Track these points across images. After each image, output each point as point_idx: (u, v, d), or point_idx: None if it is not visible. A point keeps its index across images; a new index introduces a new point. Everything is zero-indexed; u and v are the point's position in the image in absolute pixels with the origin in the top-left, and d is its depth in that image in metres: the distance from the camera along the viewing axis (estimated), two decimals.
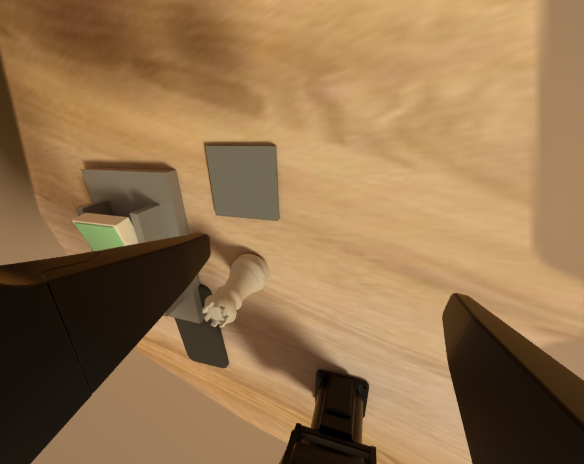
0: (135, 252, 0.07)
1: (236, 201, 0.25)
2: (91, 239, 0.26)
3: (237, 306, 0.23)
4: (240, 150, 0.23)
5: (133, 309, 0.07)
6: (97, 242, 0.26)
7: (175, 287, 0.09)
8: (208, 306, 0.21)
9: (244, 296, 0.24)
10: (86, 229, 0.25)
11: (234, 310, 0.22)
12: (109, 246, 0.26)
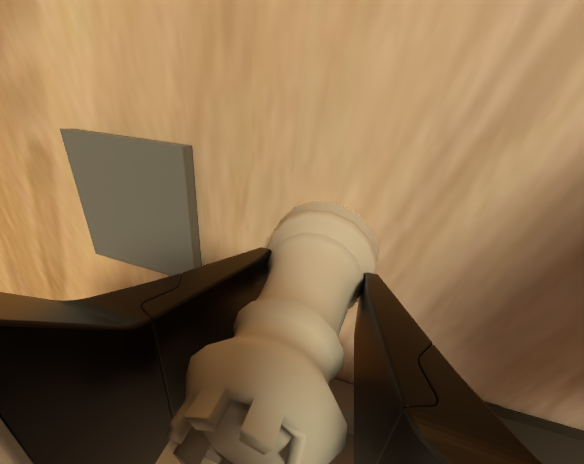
0: (216, 274, 0.07)
1: (162, 231, 0.13)
2: None
3: (297, 329, 0.05)
4: (84, 195, 0.13)
5: (213, 337, 0.07)
6: None
7: None
8: (182, 457, 0.04)
9: (307, 287, 0.06)
10: None
11: (244, 352, 0.04)
12: None
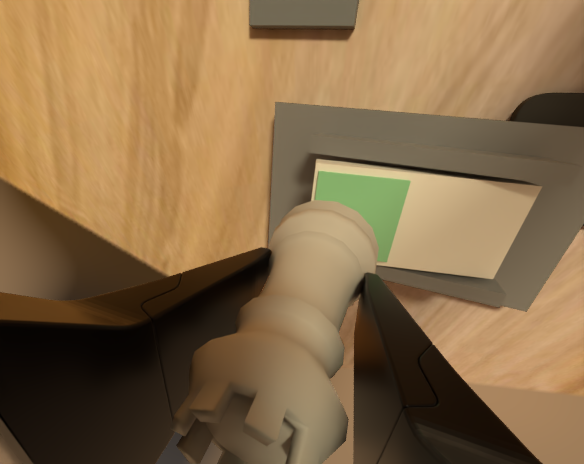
0: (216, 274, 0.07)
1: None
2: None
3: (298, 325, 0.05)
4: None
5: (213, 337, 0.07)
6: None
7: None
8: (186, 450, 0.04)
9: (308, 284, 0.06)
10: None
11: (248, 346, 0.04)
12: (358, 211, 0.14)
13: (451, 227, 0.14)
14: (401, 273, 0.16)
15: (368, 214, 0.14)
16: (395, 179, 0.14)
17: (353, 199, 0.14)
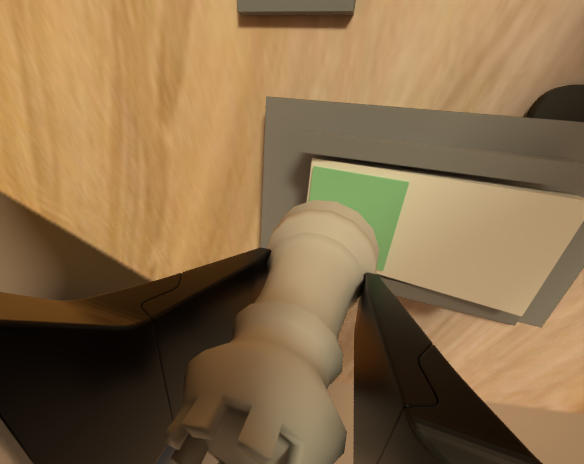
0: (216, 274, 0.07)
1: None
2: None
3: (296, 333, 0.05)
4: None
5: (213, 336, 0.07)
6: None
7: None
8: (180, 462, 0.04)
9: (306, 289, 0.06)
10: None
11: (242, 358, 0.04)
12: None
13: (462, 241, 0.12)
14: (405, 286, 0.15)
15: (362, 215, 0.14)
16: (392, 179, 0.12)
17: (347, 197, 0.14)
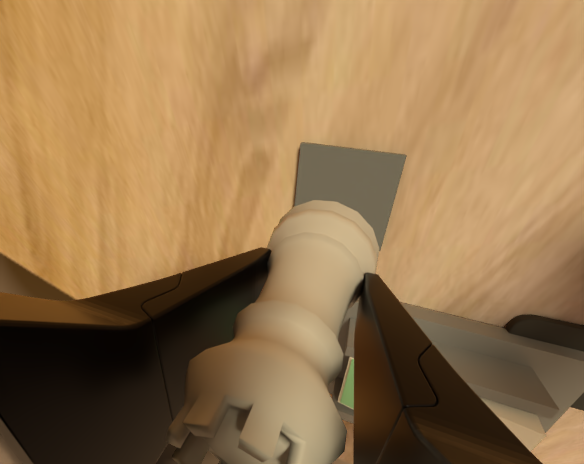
0: (216, 274, 0.07)
1: (364, 214, 0.18)
2: None
3: (296, 332, 0.05)
4: (301, 189, 0.18)
5: (213, 337, 0.07)
6: None
7: None
8: (181, 461, 0.04)
9: (306, 289, 0.06)
10: (350, 396, 0.20)
11: (243, 357, 0.04)
12: None
13: None
14: None
15: None
16: None
17: None
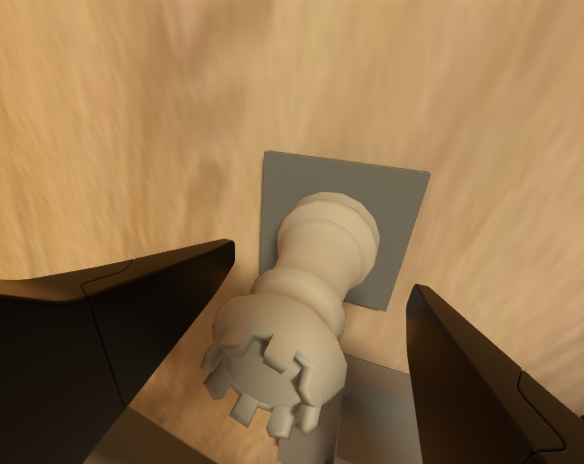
0: (167, 261, 0.07)
1: None
2: None
3: (307, 291, 0.06)
4: (269, 219, 0.12)
5: (165, 320, 0.07)
6: None
7: (203, 295, 0.08)
8: (211, 386, 0.05)
9: (315, 261, 0.07)
10: None
11: (265, 300, 0.05)
12: None
13: None
14: None
15: None
16: None
17: None
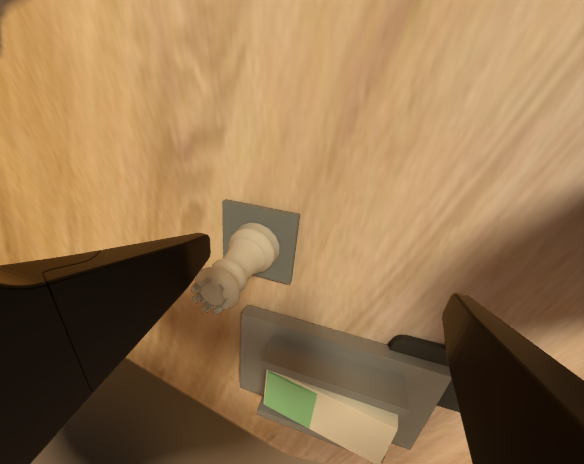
0: (135, 252, 0.07)
1: None
2: (281, 407, 0.25)
3: (229, 267, 0.17)
4: (227, 234, 0.23)
5: (133, 309, 0.07)
6: (285, 405, 0.24)
7: (175, 287, 0.09)
8: (195, 298, 0.16)
9: (236, 257, 0.18)
10: (270, 399, 0.25)
11: (211, 269, 0.16)
12: (289, 397, 0.24)
13: (346, 426, 0.22)
14: None
15: (295, 401, 0.23)
16: (309, 390, 0.22)
17: (286, 391, 0.23)
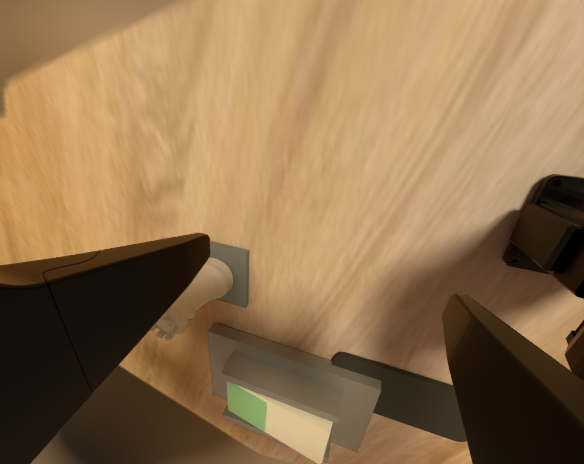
0: (135, 252, 0.07)
1: None
2: (241, 413, 0.29)
3: (180, 301, 0.21)
4: None
5: (133, 309, 0.07)
6: (244, 411, 0.28)
7: (175, 287, 0.09)
8: None
9: (189, 290, 0.22)
10: (232, 406, 0.29)
11: None
12: (246, 405, 0.27)
13: (292, 431, 0.26)
14: None
15: (251, 408, 0.27)
16: (260, 399, 0.26)
17: (243, 399, 0.27)
